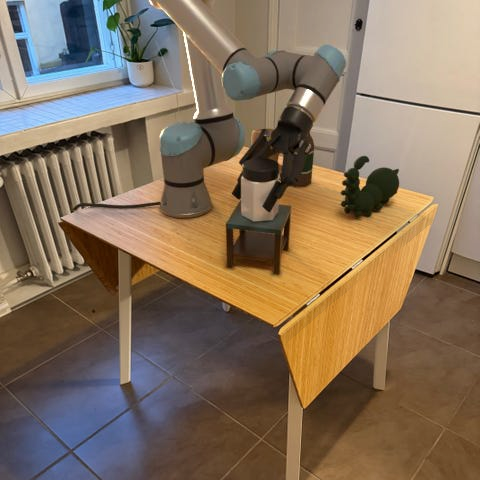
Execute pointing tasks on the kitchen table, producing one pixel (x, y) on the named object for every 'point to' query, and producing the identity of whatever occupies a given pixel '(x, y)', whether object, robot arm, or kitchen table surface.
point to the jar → (258, 188)
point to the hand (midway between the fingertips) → (250, 203)
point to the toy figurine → (368, 189)
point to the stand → (258, 237)
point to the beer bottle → (306, 165)
